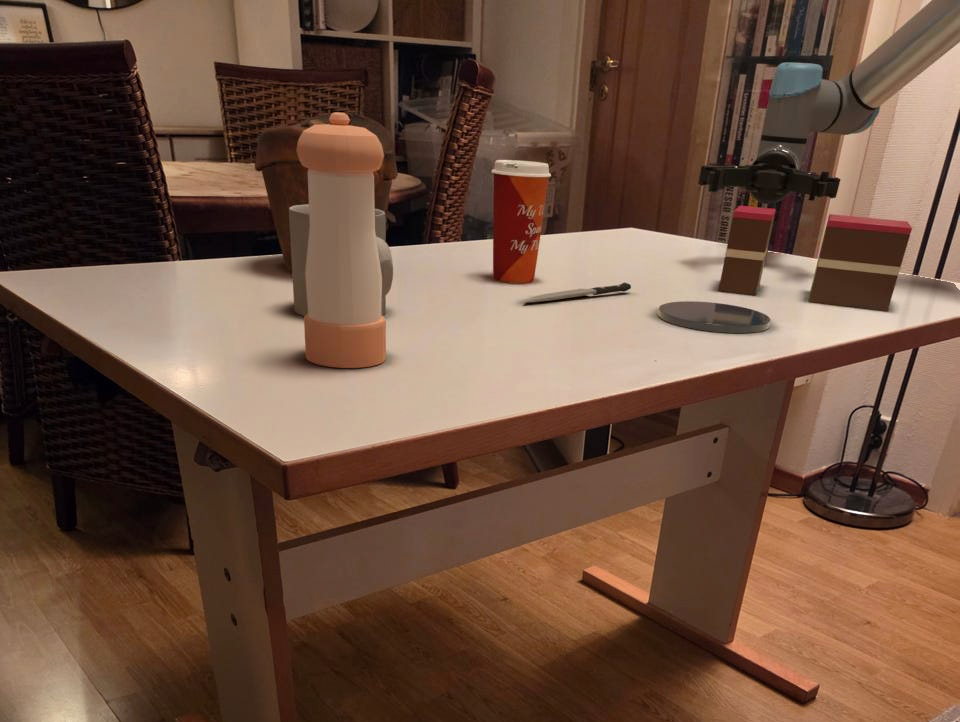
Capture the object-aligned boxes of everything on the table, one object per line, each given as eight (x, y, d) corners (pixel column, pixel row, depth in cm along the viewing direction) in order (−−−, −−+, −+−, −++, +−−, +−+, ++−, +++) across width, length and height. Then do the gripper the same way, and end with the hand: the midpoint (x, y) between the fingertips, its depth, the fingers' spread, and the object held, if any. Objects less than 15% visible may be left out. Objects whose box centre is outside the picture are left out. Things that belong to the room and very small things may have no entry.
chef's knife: (507, 301, 105) (523, 304, 103) (507, 291, 104) (523, 294, 102) (616, 289, 115) (632, 291, 113) (616, 279, 115) (633, 282, 113)
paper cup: (525, 287, 113) (535, 165, 105) (475, 278, 116) (481, 160, 108) (551, 279, 119) (562, 163, 111) (502, 271, 122) (509, 158, 114)
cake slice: (759, 286, 124) (776, 208, 118) (755, 295, 117) (772, 214, 112) (724, 282, 125) (739, 205, 120) (718, 291, 119) (733, 210, 113)
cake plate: (772, 316, 106) (773, 309, 105) (765, 338, 95) (767, 331, 95) (666, 303, 109) (667, 296, 109) (649, 323, 98) (650, 316, 98)
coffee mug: (280, 303, 96) (274, 204, 91) (362, 299, 101) (360, 203, 95) (329, 331, 87) (325, 222, 81) (416, 324, 91) (418, 220, 86)
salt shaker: (291, 352, 79) (276, 108, 69) (359, 344, 83) (355, 111, 73) (330, 372, 74) (321, 113, 64) (401, 362, 78) (402, 117, 68)
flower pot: (283, 285, 105) (272, 113, 95) (248, 257, 120) (236, 105, 110) (419, 282, 112) (422, 121, 102) (370, 255, 127) (369, 113, 117)
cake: (884, 300, 119) (908, 221, 114) (887, 311, 113) (912, 227, 108) (809, 292, 122) (829, 214, 117) (808, 301, 116) (829, 219, 110)
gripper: (700, 143, 141) (681, 147, 124) (860, 156, 134) (864, 162, 117) (691, 194, 145) (672, 205, 128) (846, 209, 138) (848, 223, 121)
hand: (764, 185), depth 122 cm, fingers open, 13 cm apart
